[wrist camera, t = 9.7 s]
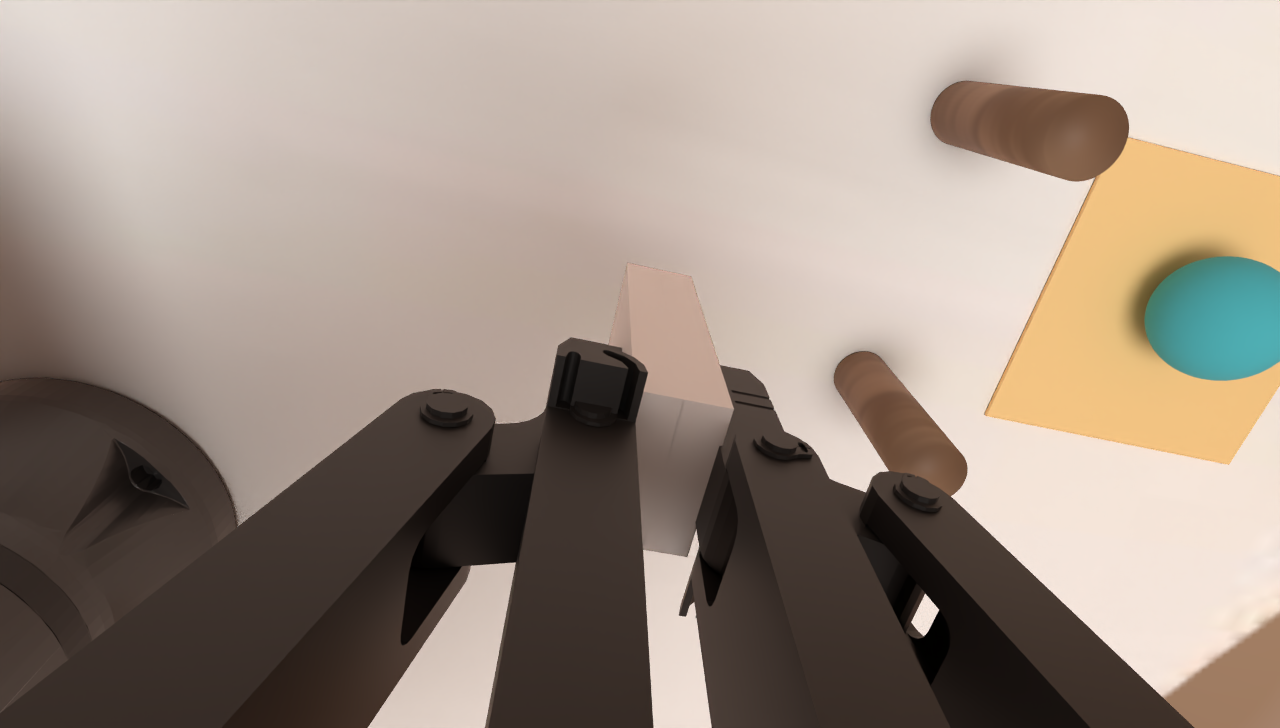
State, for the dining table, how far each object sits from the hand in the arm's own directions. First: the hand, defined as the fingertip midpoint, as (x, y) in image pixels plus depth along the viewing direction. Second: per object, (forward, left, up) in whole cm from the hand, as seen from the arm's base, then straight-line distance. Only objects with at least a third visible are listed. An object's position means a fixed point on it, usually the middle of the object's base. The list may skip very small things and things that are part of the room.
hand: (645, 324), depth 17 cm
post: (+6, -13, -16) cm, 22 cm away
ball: (+1, -26, -14) cm, 30 cm away
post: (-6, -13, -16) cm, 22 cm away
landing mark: (0, -27, -16) cm, 32 cm away
